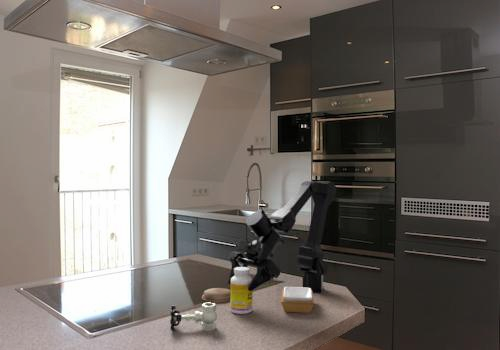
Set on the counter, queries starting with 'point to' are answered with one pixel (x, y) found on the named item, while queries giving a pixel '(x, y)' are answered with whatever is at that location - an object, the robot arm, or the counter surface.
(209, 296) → the beige saucer
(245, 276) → the supplement bottle
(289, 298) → the soap dish
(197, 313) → the valve
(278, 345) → the counter surface
